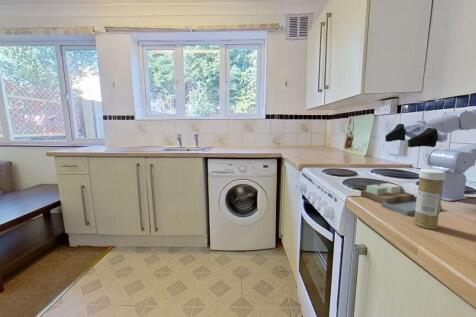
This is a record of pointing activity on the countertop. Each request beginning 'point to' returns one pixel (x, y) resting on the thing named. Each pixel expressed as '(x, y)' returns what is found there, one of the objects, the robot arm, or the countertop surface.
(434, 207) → the sprinkles bottle
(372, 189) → the green tile
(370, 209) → the countertop surface
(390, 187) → the cream tile
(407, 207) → the tray
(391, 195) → the walnut board
